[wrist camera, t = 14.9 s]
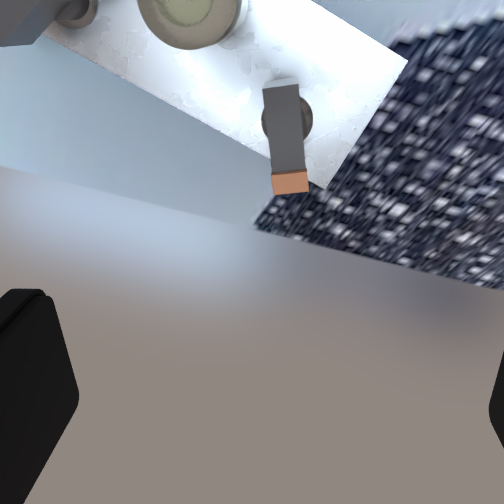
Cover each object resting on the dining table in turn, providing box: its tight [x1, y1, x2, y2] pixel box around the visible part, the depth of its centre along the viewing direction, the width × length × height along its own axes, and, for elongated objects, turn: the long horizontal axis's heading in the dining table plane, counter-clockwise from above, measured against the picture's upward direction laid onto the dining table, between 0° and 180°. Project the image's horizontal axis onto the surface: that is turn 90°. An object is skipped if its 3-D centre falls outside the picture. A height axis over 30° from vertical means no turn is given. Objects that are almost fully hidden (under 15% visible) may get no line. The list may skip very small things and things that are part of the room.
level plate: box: [42, 0, 408, 189], centre depth 27 cm, size 26×10×9 cm, turn 62°
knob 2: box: [262, 77, 309, 195], centre depth 28 cm, size 6×3×6 cm, turn 8°
